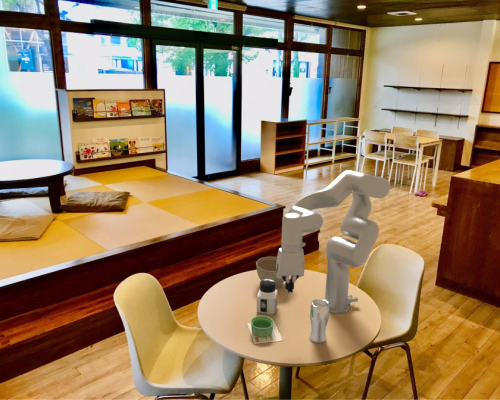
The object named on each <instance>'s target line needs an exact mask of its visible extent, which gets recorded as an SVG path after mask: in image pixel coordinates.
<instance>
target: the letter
mask: <svg viewBox="0 0 500 400" xmlns="http://www.w3.org/2000/svg"><path fill="white" fill-rule="evenodd" d="M272 320H273V321H274V324H273V330H272V334H271V335H269V336H267V337H257V336H255V335H254V334H253V333H252V328H251V322H247V323H246V324H247V328H248V330H249V332H250V335H251V338H252V341H253V344H254V345H260V344H267V343H268V344H269V343H274V342H275V343H276V342H283V341H284V340H283V338H282V335H281V333H280V331H279V330H278V326H277V325H276V322H275V320H274V319H272Z"/></svg>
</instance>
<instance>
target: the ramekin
mask: <svg viewBox="0 0 500 400" xmlns="http://www.w3.org/2000/svg"><path fill="white" fill-rule="evenodd" d="M273 320H274V319H273V318H271V317H269V316H267V315H257V316H254V317H252V318H251V320H250V323H251V328H252V333H253V334H254V335H255V336H257V337H267V336H269V335H271V334H272V330H273V324H274V322H275V320H274V321H273Z"/></svg>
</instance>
